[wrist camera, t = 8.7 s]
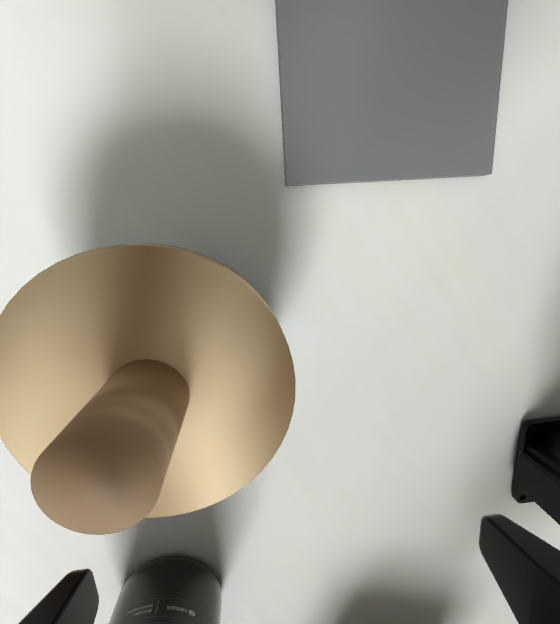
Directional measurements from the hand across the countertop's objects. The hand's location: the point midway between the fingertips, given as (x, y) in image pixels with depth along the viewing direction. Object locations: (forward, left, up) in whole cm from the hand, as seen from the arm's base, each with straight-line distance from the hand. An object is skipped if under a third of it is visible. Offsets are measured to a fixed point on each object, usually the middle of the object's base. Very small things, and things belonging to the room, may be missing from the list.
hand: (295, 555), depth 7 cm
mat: (-7, -15, -12) cm, 20 cm away
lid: (+5, -1, -7) cm, 8 cm away
